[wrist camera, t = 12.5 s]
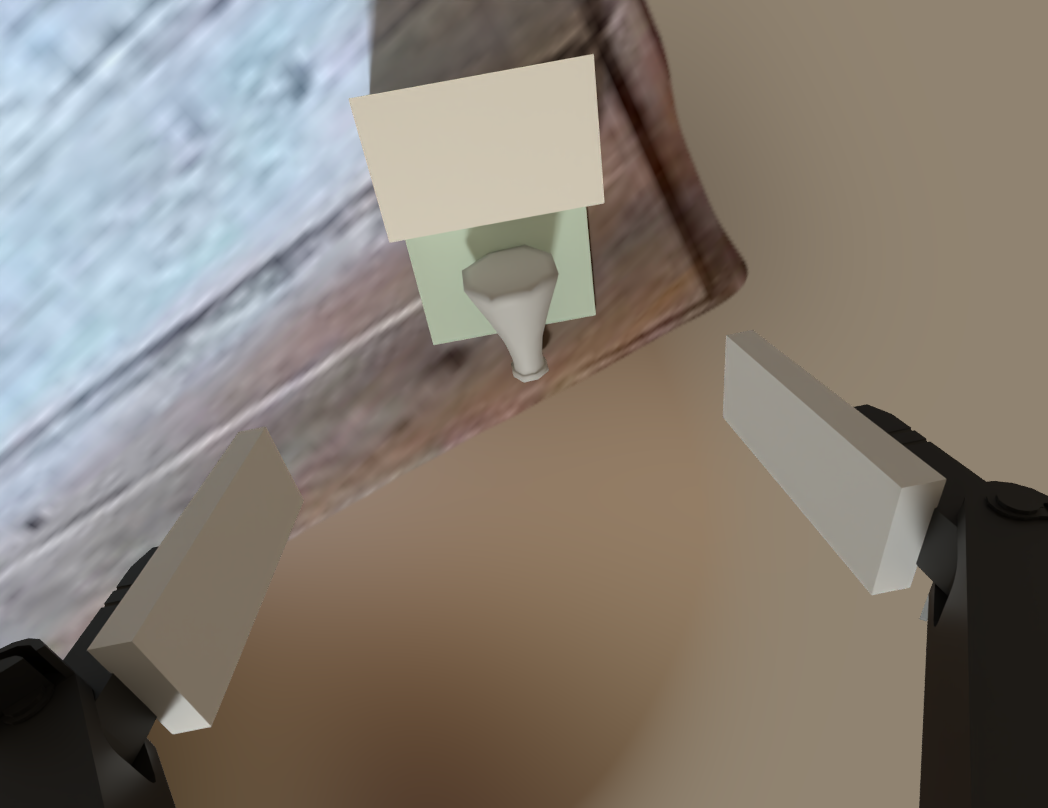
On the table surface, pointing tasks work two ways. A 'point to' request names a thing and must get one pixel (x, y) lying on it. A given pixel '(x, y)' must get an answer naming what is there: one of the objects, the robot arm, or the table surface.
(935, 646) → the robot arm
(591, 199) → the block
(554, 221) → the mat
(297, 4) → the table surface
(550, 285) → the flask
